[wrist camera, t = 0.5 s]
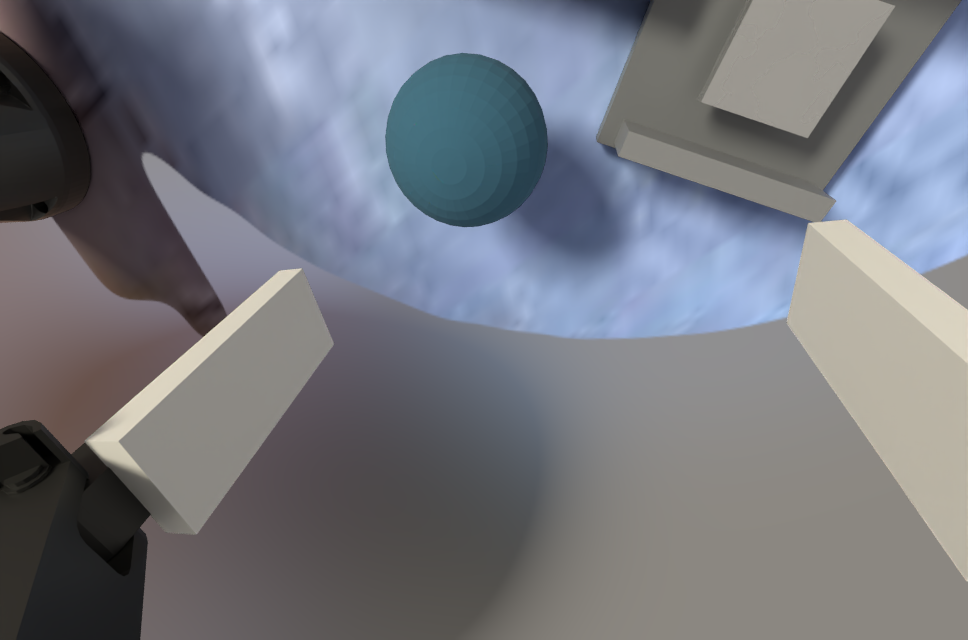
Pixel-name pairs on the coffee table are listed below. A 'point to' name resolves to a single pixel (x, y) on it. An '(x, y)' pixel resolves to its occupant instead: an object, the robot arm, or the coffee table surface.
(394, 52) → the coffee table surface
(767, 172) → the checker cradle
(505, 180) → the light bulb
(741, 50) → the checker plate
